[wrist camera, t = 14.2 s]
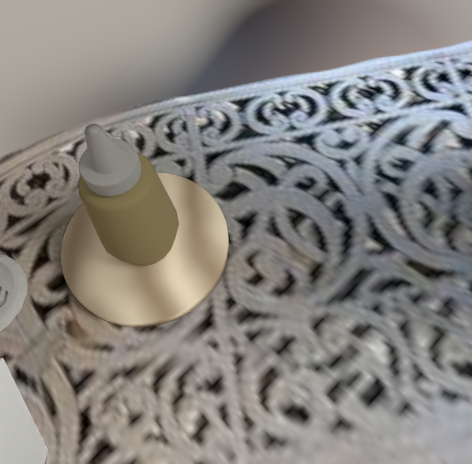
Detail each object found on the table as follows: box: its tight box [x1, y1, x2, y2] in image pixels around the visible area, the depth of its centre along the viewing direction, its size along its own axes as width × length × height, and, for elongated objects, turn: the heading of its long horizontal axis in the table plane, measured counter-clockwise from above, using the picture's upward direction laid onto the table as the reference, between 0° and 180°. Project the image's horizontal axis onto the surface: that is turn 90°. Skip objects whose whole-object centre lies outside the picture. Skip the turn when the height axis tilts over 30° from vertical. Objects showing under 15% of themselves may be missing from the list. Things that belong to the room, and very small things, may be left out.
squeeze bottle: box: [79, 124, 179, 266], centre depth 39 cm, size 8×8×18 cm
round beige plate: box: [61, 172, 229, 327], centre depth 46 cm, size 18×18×6 cm
